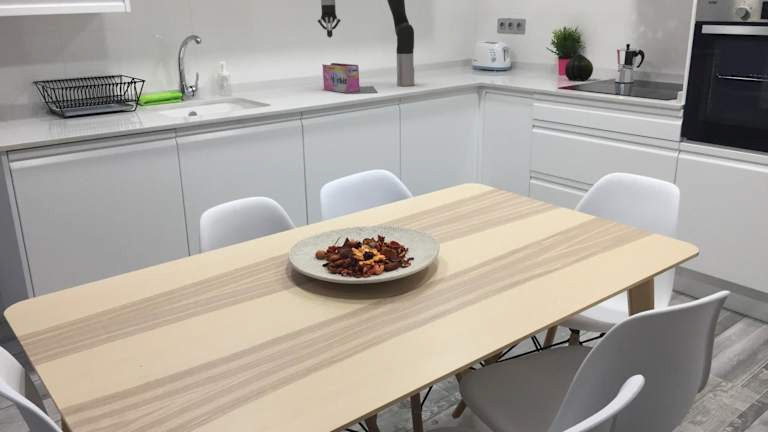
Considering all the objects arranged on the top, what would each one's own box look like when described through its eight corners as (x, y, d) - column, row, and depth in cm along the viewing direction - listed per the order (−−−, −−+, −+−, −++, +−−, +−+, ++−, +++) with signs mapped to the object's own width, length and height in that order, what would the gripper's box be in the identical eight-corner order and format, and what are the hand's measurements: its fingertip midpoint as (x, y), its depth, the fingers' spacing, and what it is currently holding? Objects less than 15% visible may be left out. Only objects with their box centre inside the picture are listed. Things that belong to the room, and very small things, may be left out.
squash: (579, 72, 367) (591, 50, 370) (556, 72, 378) (567, 50, 381) (590, 88, 376) (601, 66, 380) (567, 87, 387) (577, 65, 390)
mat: (373, 86, 376) (373, 86, 376) (377, 92, 352) (377, 92, 352) (349, 87, 375) (349, 86, 375) (352, 93, 351) (352, 93, 351)
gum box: (322, 89, 369) (320, 64, 365) (333, 87, 374) (332, 62, 370) (348, 93, 352) (346, 66, 347) (360, 91, 356) (358, 64, 352)
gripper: (340, 3, 370) (341, 36, 375) (315, 4, 368) (317, 37, 374) (340, 3, 362) (342, 37, 368) (315, 4, 361) (317, 38, 367)
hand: (329, 37), depth 371 cm, fingers closed
